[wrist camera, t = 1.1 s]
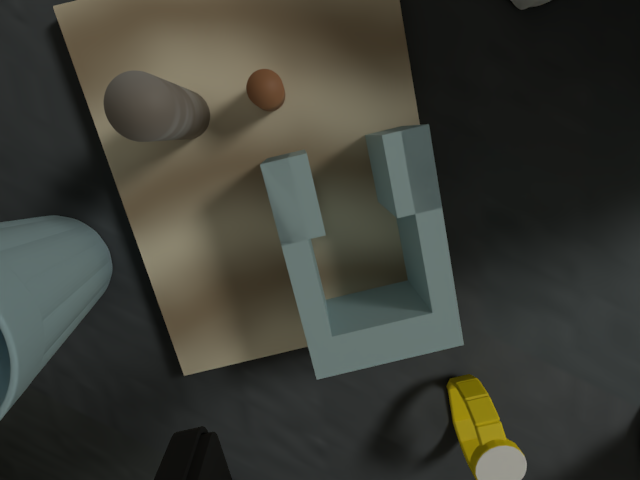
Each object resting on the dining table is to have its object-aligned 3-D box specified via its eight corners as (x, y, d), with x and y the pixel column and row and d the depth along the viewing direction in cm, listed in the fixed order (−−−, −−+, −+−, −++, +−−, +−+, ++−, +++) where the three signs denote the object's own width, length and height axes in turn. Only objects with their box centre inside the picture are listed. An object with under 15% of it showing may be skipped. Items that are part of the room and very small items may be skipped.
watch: (431, 365, 27) (465, 421, 21) (473, 356, 27) (519, 409, 21) (446, 446, 28) (483, 521, 22) (486, 437, 28) (534, 509, 22)
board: (443, 304, 26) (503, 374, 18) (189, 364, 26) (145, 458, 18) (382, -63, 21) (430, -173, 13) (66, 13, 21) (-63, -54, 13)
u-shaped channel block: (434, 307, 24) (463, 344, 20) (313, 335, 24) (316, 379, 20) (402, 126, 22) (428, 124, 17) (267, 158, 22) (259, 164, 17)
